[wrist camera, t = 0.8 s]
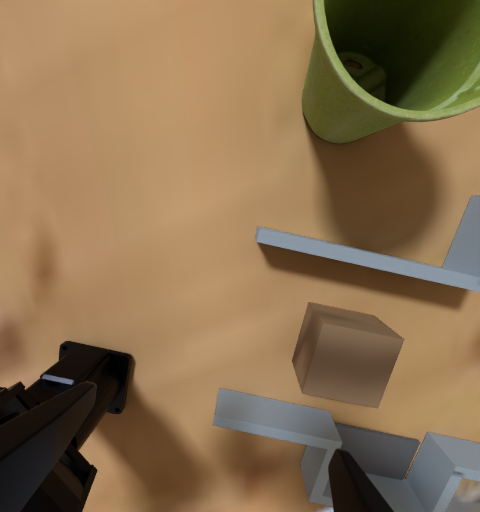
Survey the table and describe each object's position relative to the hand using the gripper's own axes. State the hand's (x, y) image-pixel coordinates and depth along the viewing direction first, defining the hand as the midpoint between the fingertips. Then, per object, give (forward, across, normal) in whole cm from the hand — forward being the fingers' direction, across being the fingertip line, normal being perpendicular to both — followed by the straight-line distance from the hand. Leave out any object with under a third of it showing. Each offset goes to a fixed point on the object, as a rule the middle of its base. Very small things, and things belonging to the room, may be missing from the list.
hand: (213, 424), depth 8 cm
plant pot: (+13, -4, -17) cm, 22 cm away
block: (+12, -9, +2) cm, 16 cm away
